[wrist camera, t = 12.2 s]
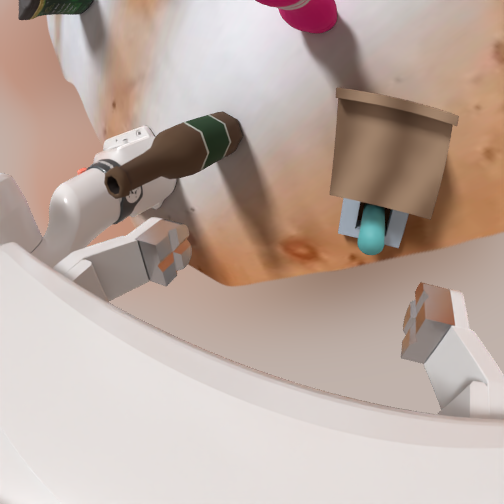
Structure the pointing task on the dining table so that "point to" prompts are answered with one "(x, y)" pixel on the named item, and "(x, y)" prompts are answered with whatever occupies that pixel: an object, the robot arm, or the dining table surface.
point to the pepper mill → (306, 13)
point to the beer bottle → (177, 153)
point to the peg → (372, 229)
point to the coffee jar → (51, 7)
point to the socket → (352, 225)
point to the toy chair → (390, 151)
